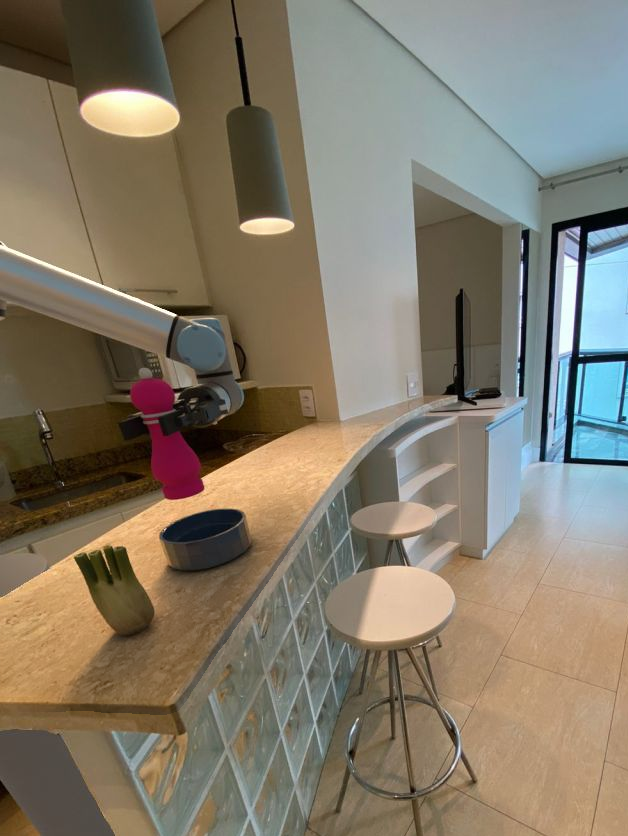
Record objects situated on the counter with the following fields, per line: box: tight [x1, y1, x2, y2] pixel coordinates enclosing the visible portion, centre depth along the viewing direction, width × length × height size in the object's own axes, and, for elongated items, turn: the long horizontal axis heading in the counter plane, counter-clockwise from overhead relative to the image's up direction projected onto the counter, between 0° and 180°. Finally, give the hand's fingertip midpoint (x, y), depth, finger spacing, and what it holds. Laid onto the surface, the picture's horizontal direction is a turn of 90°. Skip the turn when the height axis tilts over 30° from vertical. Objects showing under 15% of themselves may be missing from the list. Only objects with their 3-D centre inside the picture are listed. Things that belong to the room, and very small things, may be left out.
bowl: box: [158, 507, 253, 571], centre depth 72 cm, size 14×14×6 cm
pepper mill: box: [129, 367, 206, 501], centre depth 64 cm, size 7×7×20 cm
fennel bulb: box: [73, 545, 156, 636], centre depth 52 cm, size 6×5×12 cm
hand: (143, 429), depth 59 cm, fingers closed on pepper mill, 5 cm apart
